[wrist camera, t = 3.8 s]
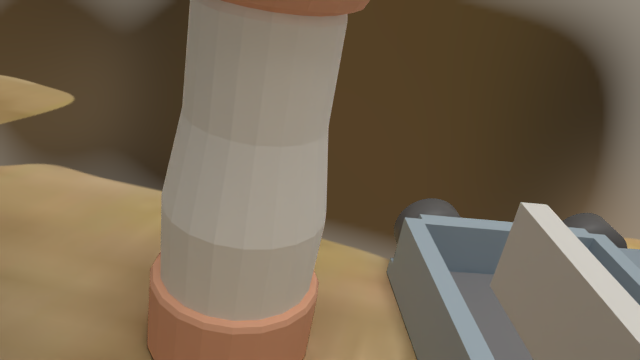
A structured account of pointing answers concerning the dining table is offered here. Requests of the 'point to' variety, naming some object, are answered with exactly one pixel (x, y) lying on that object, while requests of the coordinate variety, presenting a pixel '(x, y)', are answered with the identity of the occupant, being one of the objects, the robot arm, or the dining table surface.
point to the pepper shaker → (247, 181)
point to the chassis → (476, 279)
